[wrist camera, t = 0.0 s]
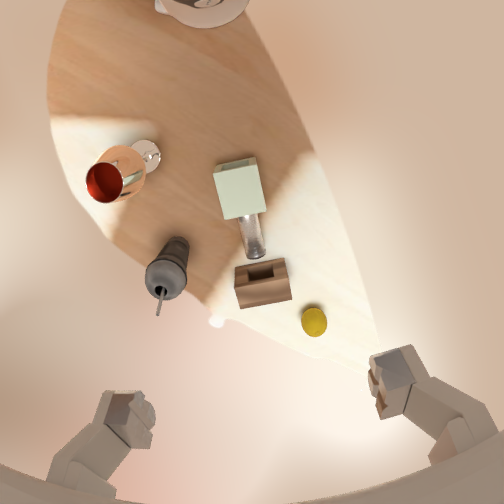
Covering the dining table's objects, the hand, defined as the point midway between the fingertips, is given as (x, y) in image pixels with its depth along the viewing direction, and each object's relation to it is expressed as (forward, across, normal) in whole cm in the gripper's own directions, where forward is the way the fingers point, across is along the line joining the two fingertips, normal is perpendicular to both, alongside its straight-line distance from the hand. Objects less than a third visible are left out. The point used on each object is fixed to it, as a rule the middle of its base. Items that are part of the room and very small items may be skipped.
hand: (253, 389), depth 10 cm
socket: (+48, +2, +25) cm, 54 cm away
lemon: (+48, -7, +37) cm, 61 cm away
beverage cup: (+48, +17, +15) cm, 53 cm away
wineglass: (+48, +18, -4) cm, 52 cm away
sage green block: (+48, +2, +5) cm, 48 cm away
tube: (+46, +2, +10) cm, 47 cm away
